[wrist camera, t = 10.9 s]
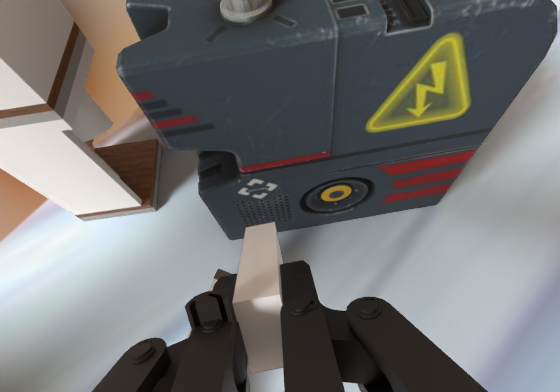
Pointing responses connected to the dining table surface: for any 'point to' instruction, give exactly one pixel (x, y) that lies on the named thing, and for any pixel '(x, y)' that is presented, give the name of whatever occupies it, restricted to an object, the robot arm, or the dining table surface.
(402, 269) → the dining table surface
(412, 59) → the power unit
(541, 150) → the dining table surface
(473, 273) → the dining table surface
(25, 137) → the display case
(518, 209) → the dining table surface
